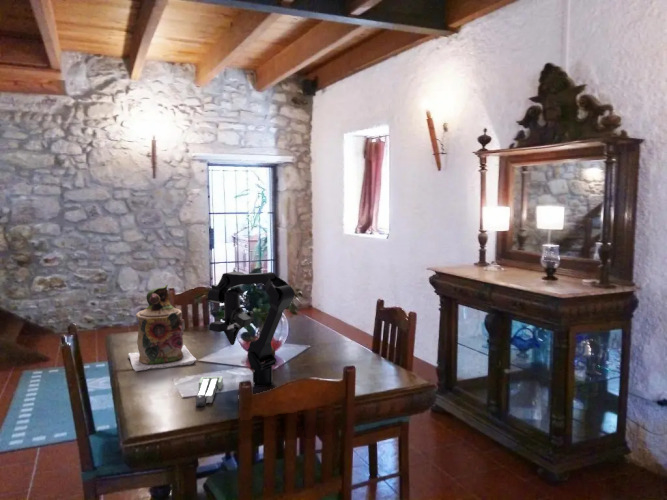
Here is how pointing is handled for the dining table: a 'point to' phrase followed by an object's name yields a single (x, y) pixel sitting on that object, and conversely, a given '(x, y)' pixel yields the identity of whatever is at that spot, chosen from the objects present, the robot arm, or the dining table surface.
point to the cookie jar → (160, 334)
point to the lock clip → (220, 381)
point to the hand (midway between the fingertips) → (232, 344)
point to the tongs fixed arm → (211, 390)
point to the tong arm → (202, 393)
